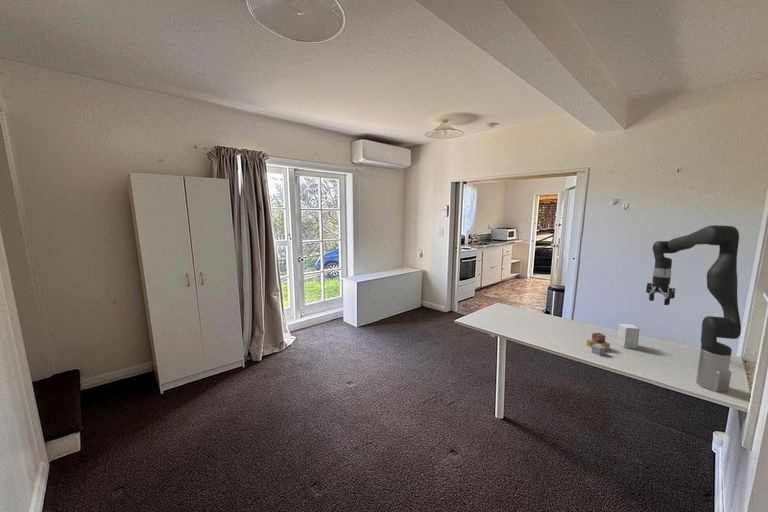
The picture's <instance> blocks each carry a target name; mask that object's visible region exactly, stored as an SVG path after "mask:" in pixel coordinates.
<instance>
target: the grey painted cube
mask: <svg viewBox="0 0 768 512" xmlns="http://www.w3.org/2000/svg"><path fill="white" fill-rule="evenodd" d="M605 348H606V347H604V346H601V345H599V344H595V345H592V348H591V354H594V355H597V356H599V357H600V356H604V355H606V350H605Z"/></svg>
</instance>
